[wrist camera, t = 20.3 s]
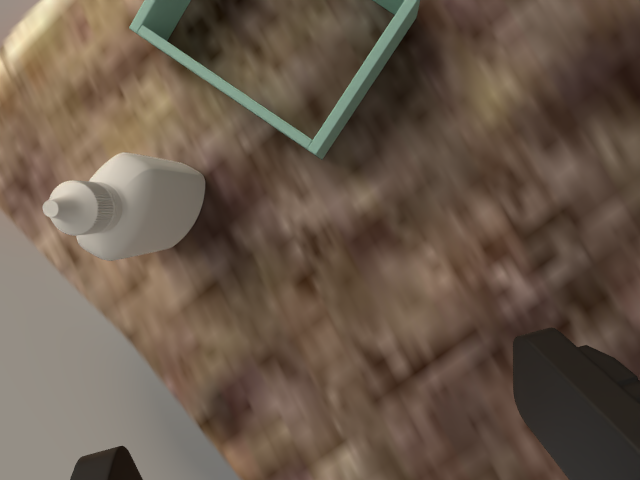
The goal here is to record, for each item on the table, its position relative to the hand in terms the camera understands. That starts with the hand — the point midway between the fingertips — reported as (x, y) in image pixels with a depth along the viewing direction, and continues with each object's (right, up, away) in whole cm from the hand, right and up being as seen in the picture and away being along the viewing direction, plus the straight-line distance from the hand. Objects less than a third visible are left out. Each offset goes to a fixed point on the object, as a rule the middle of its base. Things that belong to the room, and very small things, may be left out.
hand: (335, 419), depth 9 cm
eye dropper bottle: (-10, +6, +22) cm, 24 cm away
